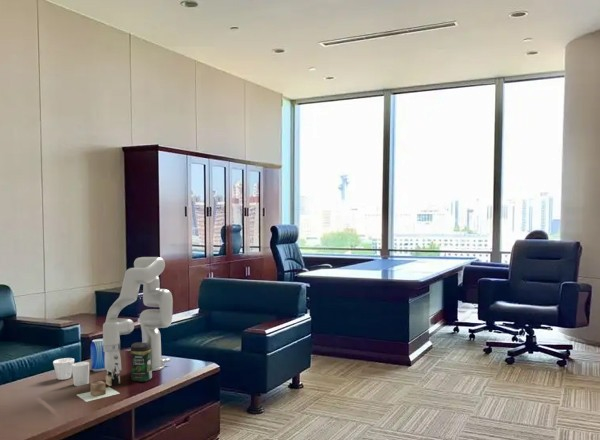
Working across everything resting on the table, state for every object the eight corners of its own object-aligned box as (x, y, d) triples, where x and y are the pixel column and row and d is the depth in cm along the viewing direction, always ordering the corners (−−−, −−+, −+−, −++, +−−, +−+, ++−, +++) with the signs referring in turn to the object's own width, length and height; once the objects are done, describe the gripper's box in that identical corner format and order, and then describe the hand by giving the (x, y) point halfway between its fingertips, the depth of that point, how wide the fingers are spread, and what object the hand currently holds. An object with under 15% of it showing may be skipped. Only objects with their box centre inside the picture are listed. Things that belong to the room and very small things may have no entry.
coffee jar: (128, 382, 256) (127, 344, 256) (136, 377, 264) (135, 340, 264) (147, 382, 254) (145, 344, 255) (154, 377, 262) (153, 340, 262)
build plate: (109, 389, 245) (109, 387, 245) (120, 396, 235) (120, 393, 235) (76, 397, 235) (76, 394, 235) (86, 404, 226) (86, 401, 226)
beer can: (90, 368, 283) (89, 339, 284) (107, 366, 287) (106, 337, 287) (91, 372, 276) (90, 342, 276) (108, 370, 279) (107, 340, 279)
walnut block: (101, 391, 239) (101, 380, 239) (105, 394, 235) (105, 382, 235) (90, 394, 236) (90, 383, 236) (94, 396, 232) (94, 385, 232)
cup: (78, 375, 271) (78, 357, 271) (68, 381, 261) (67, 363, 261) (60, 375, 272) (59, 358, 272) (49, 381, 262) (48, 363, 262)
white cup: (69, 385, 254) (68, 365, 254) (82, 381, 261) (81, 361, 261) (80, 387, 250) (79, 366, 251) (93, 382, 257) (92, 362, 257)
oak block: (116, 383, 254) (115, 373, 254) (120, 386, 251) (119, 375, 251) (105, 386, 251) (105, 375, 251) (109, 388, 247) (109, 377, 247)
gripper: (126, 348, 247) (127, 387, 247) (112, 343, 260) (114, 380, 260) (110, 351, 242) (111, 391, 242) (97, 346, 255) (98, 383, 255)
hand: (113, 385), depth 251 cm, fingers closed on oak block, 5 cm apart
